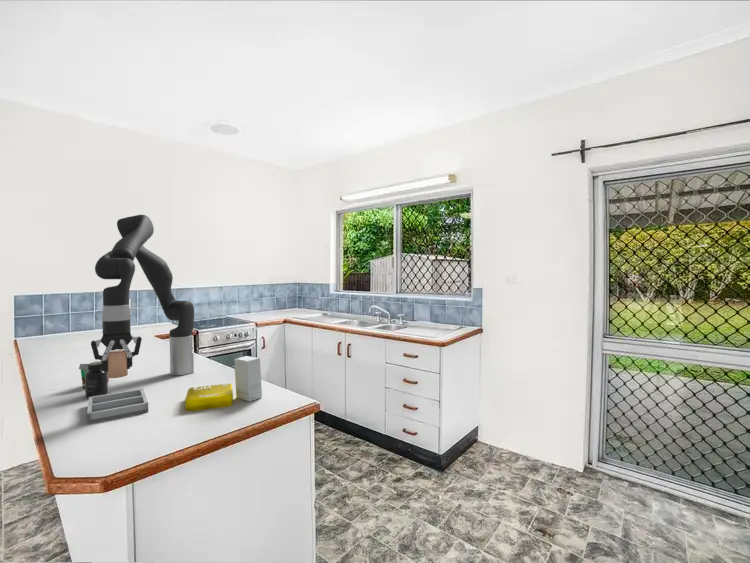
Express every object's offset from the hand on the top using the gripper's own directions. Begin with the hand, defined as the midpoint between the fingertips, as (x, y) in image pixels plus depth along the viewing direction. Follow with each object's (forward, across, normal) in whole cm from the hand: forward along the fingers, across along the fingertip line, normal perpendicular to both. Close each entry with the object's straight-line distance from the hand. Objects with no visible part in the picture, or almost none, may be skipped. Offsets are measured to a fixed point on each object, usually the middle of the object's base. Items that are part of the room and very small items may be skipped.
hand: (117, 369), depth 121 cm
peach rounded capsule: (+2, 0, 0) cm, 2 cm away
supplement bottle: (+14, +6, -26) cm, 30 cm away
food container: (+14, +5, -41) cm, 44 cm away
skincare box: (+14, -39, +11) cm, 43 cm away
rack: (+14, 0, -4) cm, 15 cm away
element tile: (+15, -27, +7) cm, 31 cm away
